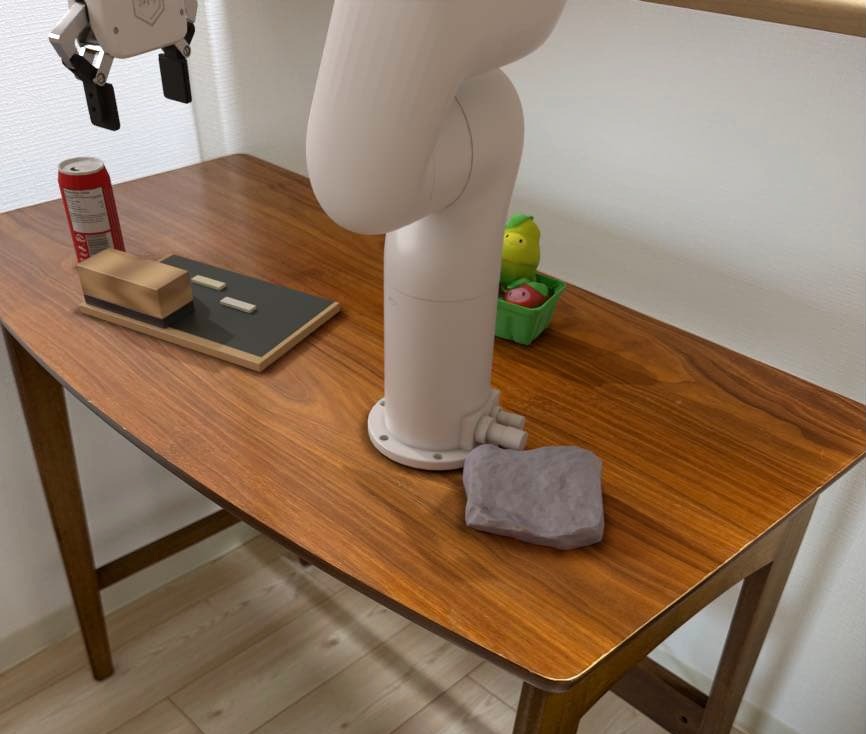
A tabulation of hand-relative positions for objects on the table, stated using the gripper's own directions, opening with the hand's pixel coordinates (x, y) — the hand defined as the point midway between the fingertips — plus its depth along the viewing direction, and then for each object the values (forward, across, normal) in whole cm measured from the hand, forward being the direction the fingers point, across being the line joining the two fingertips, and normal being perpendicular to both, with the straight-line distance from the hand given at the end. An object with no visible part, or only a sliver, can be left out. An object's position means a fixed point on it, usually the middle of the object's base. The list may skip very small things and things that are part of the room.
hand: (143, 113), depth 87 cm
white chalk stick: (+19, +2, -7) cm, 21 cm away
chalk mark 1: (+19, +4, -1) cm, 20 cm away
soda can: (+21, +3, +14) cm, 25 cm away
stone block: (+20, -11, -50) cm, 54 cm away
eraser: (+19, -4, +2) cm, 20 cm away
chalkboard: (+20, +1, -4) cm, 21 cm away
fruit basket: (+20, +17, -33) cm, 42 cm away
